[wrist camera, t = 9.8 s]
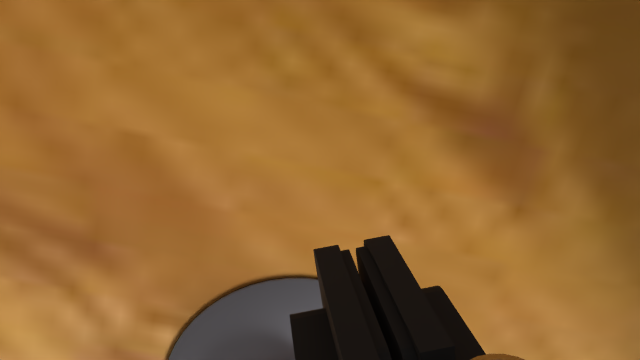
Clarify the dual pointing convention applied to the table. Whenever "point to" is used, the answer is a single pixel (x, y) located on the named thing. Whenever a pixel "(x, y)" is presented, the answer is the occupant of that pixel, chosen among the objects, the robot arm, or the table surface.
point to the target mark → (249, 322)
